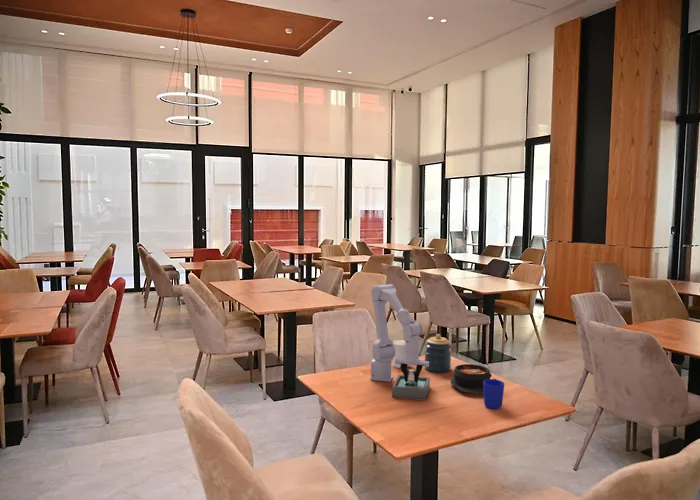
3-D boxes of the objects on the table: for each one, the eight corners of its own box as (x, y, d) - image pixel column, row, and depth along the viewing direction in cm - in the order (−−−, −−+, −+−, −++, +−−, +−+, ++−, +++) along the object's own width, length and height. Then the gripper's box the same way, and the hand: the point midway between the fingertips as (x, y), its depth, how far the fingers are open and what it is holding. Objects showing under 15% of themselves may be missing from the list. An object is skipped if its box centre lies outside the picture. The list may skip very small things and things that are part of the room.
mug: (504, 401, 207) (505, 377, 206) (503, 411, 196) (504, 387, 195) (483, 398, 210) (484, 375, 209) (481, 409, 199) (482, 384, 198)
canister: (444, 374, 240) (445, 338, 239) (420, 370, 247) (420, 334, 246) (454, 368, 251) (455, 333, 250) (430, 363, 258) (431, 329, 257)
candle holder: (388, 365, 253) (388, 342, 253) (399, 361, 261) (400, 339, 260) (403, 370, 247) (404, 346, 246) (415, 365, 254) (415, 342, 253)
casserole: (449, 377, 237) (449, 359, 237) (489, 379, 234) (490, 361, 234) (451, 396, 213) (452, 376, 212) (496, 399, 210) (497, 379, 209)
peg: (406, 389, 215) (406, 371, 215) (407, 386, 219) (407, 368, 218) (415, 390, 214) (415, 372, 214) (416, 387, 218) (417, 369, 217)
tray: (391, 397, 211) (392, 386, 210) (398, 384, 226) (398, 374, 226) (425, 400, 207) (425, 389, 207) (429, 387, 222) (429, 377, 222)
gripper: (393, 351, 213) (393, 382, 214) (428, 354, 209) (427, 386, 210) (396, 347, 220) (396, 377, 221) (429, 350, 216) (429, 380, 217)
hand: (411, 381), depth 216 cm, fingers closed on peg, 4 cm apart
